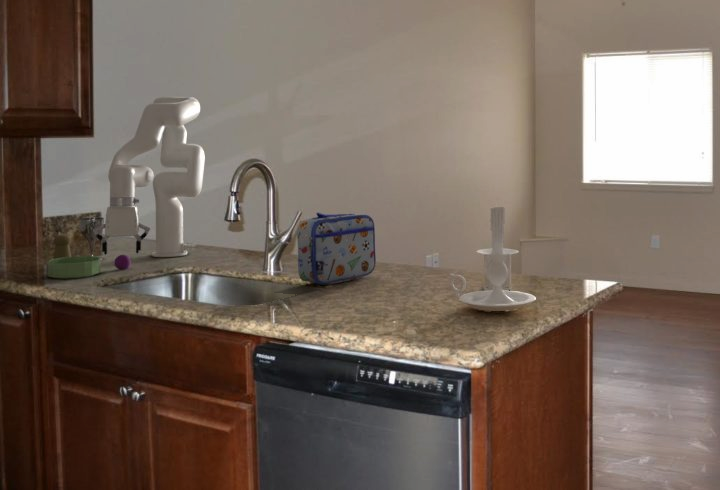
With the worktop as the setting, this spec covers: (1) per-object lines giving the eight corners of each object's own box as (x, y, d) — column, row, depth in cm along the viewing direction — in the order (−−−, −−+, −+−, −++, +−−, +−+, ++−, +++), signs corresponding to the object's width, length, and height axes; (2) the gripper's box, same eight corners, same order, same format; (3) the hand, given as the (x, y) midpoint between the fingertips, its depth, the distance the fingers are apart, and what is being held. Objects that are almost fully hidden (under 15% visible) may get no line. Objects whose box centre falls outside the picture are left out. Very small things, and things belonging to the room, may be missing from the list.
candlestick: (465, 297, 226) (466, 200, 226) (546, 305, 217) (547, 203, 216) (431, 312, 207) (431, 205, 207) (518, 321, 198) (519, 209, 197)
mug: (494, 295, 230) (495, 254, 230) (471, 291, 235) (471, 251, 235) (517, 288, 240) (517, 249, 240) (494, 285, 245) (494, 246, 245)
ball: (131, 267, 271) (131, 253, 271) (130, 270, 267) (130, 255, 267) (114, 268, 269) (114, 254, 269) (114, 271, 265) (114, 256, 265)
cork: (76, 265, 275) (76, 234, 275) (65, 268, 269) (64, 236, 269) (60, 265, 275) (60, 233, 275) (48, 268, 269) (48, 236, 269)
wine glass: (108, 259, 289) (108, 218, 289) (87, 262, 283) (87, 220, 282) (96, 257, 294) (96, 216, 293) (74, 260, 287) (74, 218, 287)
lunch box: (313, 289, 236) (313, 216, 236) (290, 285, 242) (290, 213, 242) (379, 276, 259) (379, 209, 258) (357, 273, 265) (357, 207, 264)
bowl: (101, 269, 267) (101, 255, 267) (98, 277, 253) (98, 261, 253) (49, 272, 261) (49, 257, 261) (43, 280, 247) (43, 264, 247)
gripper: (150, 201, 275) (149, 251, 274) (94, 202, 267) (93, 253, 267) (150, 203, 268) (149, 253, 268) (92, 203, 261) (91, 255, 260)
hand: (121, 253), depth 267 cm, fingers open, 9 cm apart
